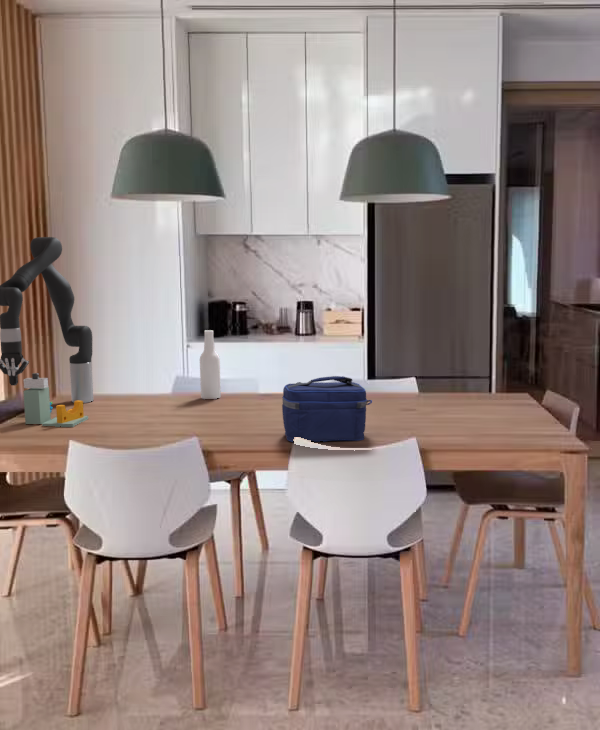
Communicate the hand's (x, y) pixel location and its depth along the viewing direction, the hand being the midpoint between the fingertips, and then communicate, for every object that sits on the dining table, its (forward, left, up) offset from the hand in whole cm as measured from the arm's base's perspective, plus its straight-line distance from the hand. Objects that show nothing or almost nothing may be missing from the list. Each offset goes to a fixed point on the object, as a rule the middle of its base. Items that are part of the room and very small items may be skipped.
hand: (13, 385), depth 306 cm
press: (0, +16, -15) cm, 22 cm away
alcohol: (-54, +64, -15) cm, 85 cm away
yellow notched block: (0, +21, -14) cm, 25 cm away
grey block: (0, +9, -1) cm, 9 cm away
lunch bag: (+17, +121, -15) cm, 123 cm away
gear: (-18, +2, -15) cm, 23 cm away
